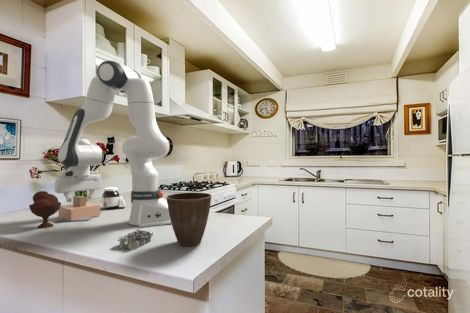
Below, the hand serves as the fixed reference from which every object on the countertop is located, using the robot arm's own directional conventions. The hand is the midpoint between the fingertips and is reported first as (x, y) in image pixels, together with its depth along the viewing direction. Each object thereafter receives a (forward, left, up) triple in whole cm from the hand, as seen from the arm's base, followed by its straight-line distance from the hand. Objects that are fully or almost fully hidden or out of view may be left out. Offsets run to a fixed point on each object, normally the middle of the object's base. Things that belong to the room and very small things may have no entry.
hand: (79, 200), depth 124 cm
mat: (0, 0, -8) cm, 8 cm away
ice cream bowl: (+7, +16, -8) cm, 19 cm away
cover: (0, 0, -8) cm, 8 cm away
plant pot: (-52, +49, -8) cm, 72 cm away
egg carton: (-34, +46, -9) cm, 58 cm away
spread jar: (-11, -20, -8) cm, 24 cm away
